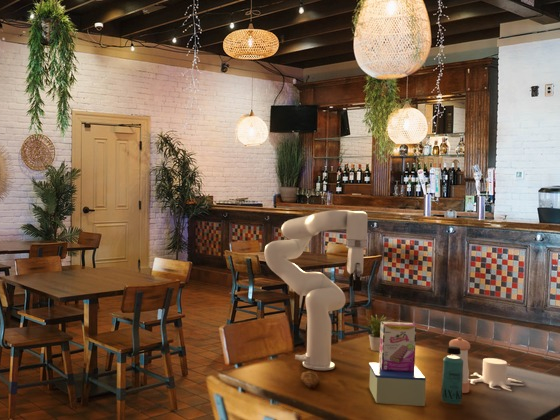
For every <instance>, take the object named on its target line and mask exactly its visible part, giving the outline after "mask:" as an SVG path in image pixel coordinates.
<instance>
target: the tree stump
mask: <svg viewBox="0 0 560 420" xmlns="http://www.w3.org/2000/svg"><path fill="white" fill-rule="evenodd" d="M508 365H509V366H510V365H511V364H510V363H508V362H507V361H506V360H503V359H500V358H494V357H493V358H492V357H487V358H486V357H485V358H482V373H481V374H482V375H481V374H479V372H473V374H469V377H478V378H469V379H468V381H469V382H470V384H472V385H475V386H476V383H484V384H487V385H488V387H489V388H490V389H493V390H497V391H498V390H499V391H500V390H502V389H503V390H507V391H509V392H513V389H511V386H521V387H522V386H525V384H523V383H524V382H523V381H521V380H517V379H515V378H511V377H508V378H507V376H508ZM497 386H498V387H501V388H502V389H501V388H498V387H497ZM496 387H497V388H496Z"/></svg>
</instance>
